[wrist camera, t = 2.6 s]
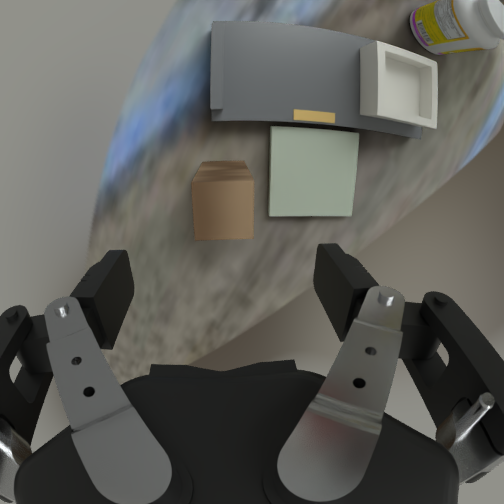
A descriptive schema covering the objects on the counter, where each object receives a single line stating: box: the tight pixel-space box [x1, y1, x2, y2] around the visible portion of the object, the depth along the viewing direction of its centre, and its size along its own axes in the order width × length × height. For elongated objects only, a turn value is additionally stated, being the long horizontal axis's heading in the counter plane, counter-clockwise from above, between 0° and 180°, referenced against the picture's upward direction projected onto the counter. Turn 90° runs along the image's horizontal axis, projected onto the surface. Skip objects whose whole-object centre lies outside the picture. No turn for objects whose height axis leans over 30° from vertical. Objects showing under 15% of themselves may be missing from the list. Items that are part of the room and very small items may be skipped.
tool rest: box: [268, 126, 359, 216], centre depth 27 cm, size 9×9×1 cm
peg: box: [191, 161, 254, 241], centre depth 23 cm, size 4×4×10 cm
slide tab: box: [360, 41, 438, 129], centre depth 20 cm, size 7×7×4 cm
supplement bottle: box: [410, 0, 504, 55], centre depth 14 cm, size 7×7×13 cm
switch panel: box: [210, 21, 422, 140], centre depth 21 cm, size 22×10×4 cm, turn 89°
